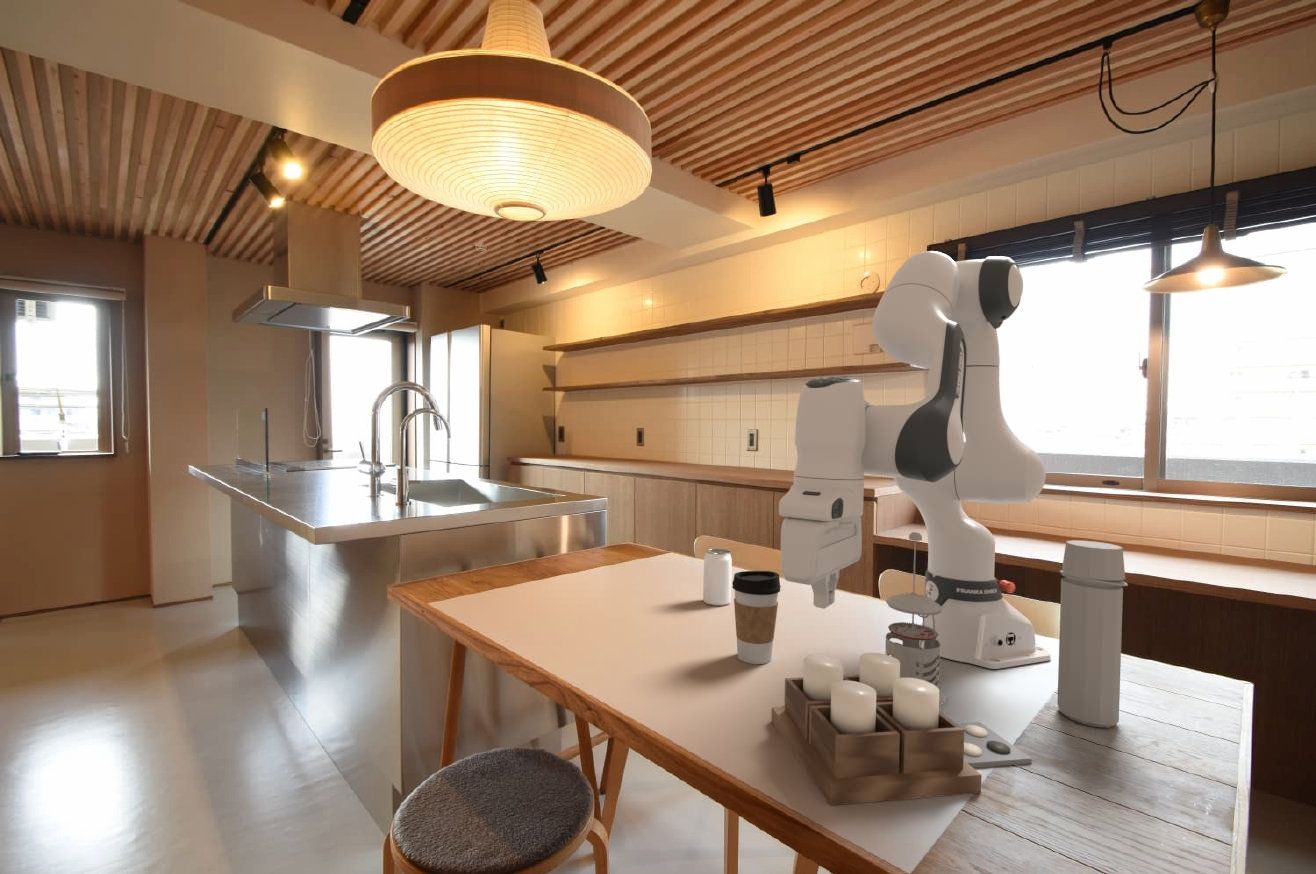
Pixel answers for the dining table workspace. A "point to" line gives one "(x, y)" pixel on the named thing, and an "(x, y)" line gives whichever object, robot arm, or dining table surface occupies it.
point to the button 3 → (879, 672)
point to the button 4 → (915, 704)
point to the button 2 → (853, 707)
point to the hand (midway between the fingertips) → (823, 605)
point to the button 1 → (820, 676)
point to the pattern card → (989, 747)
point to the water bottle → (1091, 632)
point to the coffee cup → (755, 614)
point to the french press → (915, 635)
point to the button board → (873, 753)
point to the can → (717, 577)
